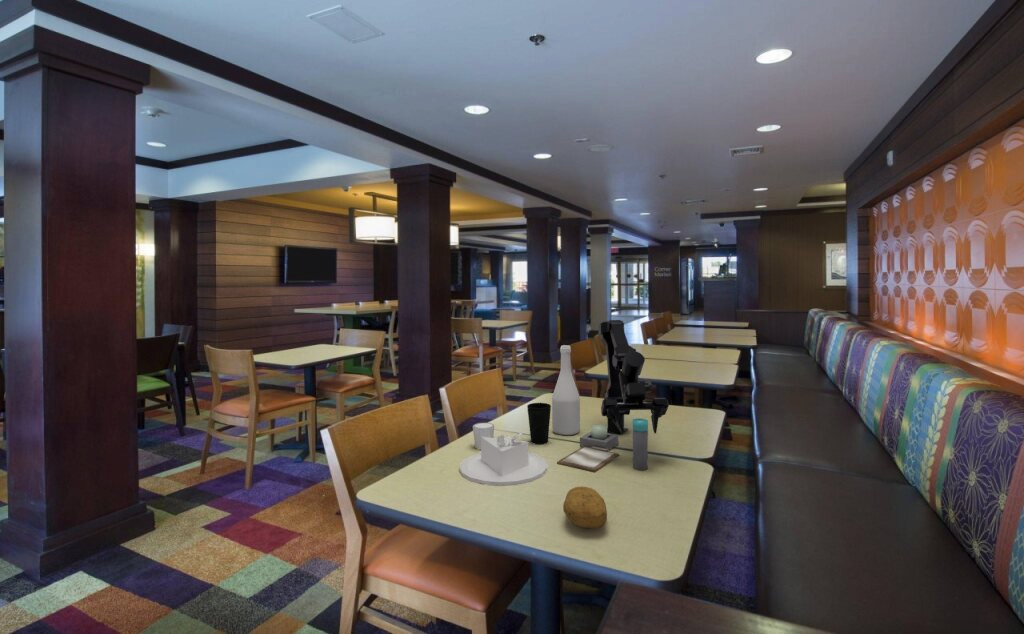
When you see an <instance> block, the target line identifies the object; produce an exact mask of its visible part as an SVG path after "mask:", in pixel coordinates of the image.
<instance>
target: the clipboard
mask: <svg viewBox="0 0 1024 634" xmlns="http://www.w3.org/2000/svg"><path fill="white" fill-rule="evenodd" d="M619 456H620V453H619V452H614V451H610V450H609V451H608V449H604V448H599V447H594V446H593V447H591V448H589V447H584V446H583V447H579V448H578V449H576V450H574V451H573V452H572V453H570V454H567V455H566V456H565V457H562V458H560V459H559V460H558V461H557V462H556V464H557V465H560V466H561V465H562V466H566V467H570V468H573V469H574V468H575V469H577V470H578V469H579V470H583V471H587V472H592V473H596V472H598V471H599V470H601V469H602V468H603V467H605V466H606V465H607V464H609V463H610V462H612V461H614V459H616V458H617V457H619Z"/></svg>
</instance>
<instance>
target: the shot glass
mask: <svg viewBox="0 0 1024 634" xmlns="http://www.w3.org/2000/svg"><path fill="white" fill-rule="evenodd" d="M472 431H473V441H474V448H475V447H476V448H479V449H481V437H489V438H495V437H494V436H495V424H494V423H491V422H478V423H475V424H473V425H472ZM476 448H475V449H476ZM479 449H478V450H479Z"/></svg>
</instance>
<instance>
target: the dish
mask: <svg viewBox="0 0 1024 634" xmlns="http://www.w3.org/2000/svg"><path fill="white" fill-rule="evenodd" d="M523 434H524V433H522V432H519V433H517V434H516V435H514V437H510V436H508V435H503V434H499V435H498V437H493V438H489V437H481V450H480V452H477V453H475V454H472V455H469V456H468V457H466V458H465V459H463V460H461V462H460V465H459V467H458V468H459V470H460V471H459V472H461V473H460V474H462V475H461V476H462V477H463V476H464V479H466V478H467V480H468V481H470V482H474V483H476V482H477V484H480V483H481V485H484V484H488V486H497V485H499V487H502V486H518V485H522V484H527V483H531V482H534V481H536V480H539V479H541V478H542V477H543V476H545V474H546V473H548V461H547V460H546V459H544V458H543V456H541V455H539V454H536V453H535V452H534V453H533V452H529V441H524V440H523V441H522V440H517V439H518V438H520V437H522V436H524V435H523Z"/></svg>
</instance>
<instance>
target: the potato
mask: <svg viewBox="0 0 1024 634" xmlns="http://www.w3.org/2000/svg"><path fill="white" fill-rule="evenodd" d="M562 506H563V508H562V509H563V513H564V515H565V516H566V518H567V519H568V520H569V521H570V522H571V523H572V524H574V525H576V526H578V528H584V529H597V528H601V527H603V526H604V525H605V524H606V523H607V519H608V511H607V505H606V502H605V499H604V497H602V495H600V493H599V492H597V490H596V489H593V488H592V487H587V486H581V485H580V486H575V487H572V488H571V489H569V490H568V491H567V493H566V495H565V500H564V501H563V505H562Z"/></svg>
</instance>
